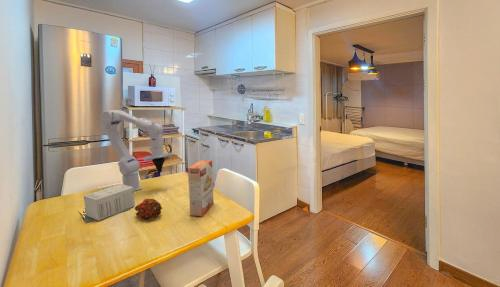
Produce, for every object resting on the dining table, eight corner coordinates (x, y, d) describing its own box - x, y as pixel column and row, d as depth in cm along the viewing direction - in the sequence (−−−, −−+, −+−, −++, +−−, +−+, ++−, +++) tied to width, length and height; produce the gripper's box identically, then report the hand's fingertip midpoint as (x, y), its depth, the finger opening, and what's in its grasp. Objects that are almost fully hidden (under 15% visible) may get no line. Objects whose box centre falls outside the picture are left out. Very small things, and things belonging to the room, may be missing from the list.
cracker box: (203, 217, 104) (200, 168, 101) (189, 216, 106) (186, 167, 102) (214, 203, 118) (212, 159, 114) (202, 202, 119) (200, 159, 115)
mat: (78, 210, 113) (78, 210, 113) (119, 200, 124) (119, 199, 124) (86, 223, 101) (85, 222, 101) (130, 209, 113) (130, 209, 113)
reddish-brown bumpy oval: (162, 223, 104) (138, 224, 107) (169, 204, 109) (145, 206, 113) (151, 212, 98) (125, 214, 101) (159, 193, 104) (134, 195, 107)
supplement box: (122, 202, 121) (85, 216, 107) (120, 183, 119) (82, 195, 105) (135, 206, 116) (98, 221, 102) (133, 186, 115) (95, 199, 100)
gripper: (146, 150, 124) (148, 176, 126) (173, 145, 133) (175, 170, 136) (140, 148, 129) (143, 173, 131) (167, 144, 138) (169, 168, 141)
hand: (159, 172), depth 134 cm, fingers closed
